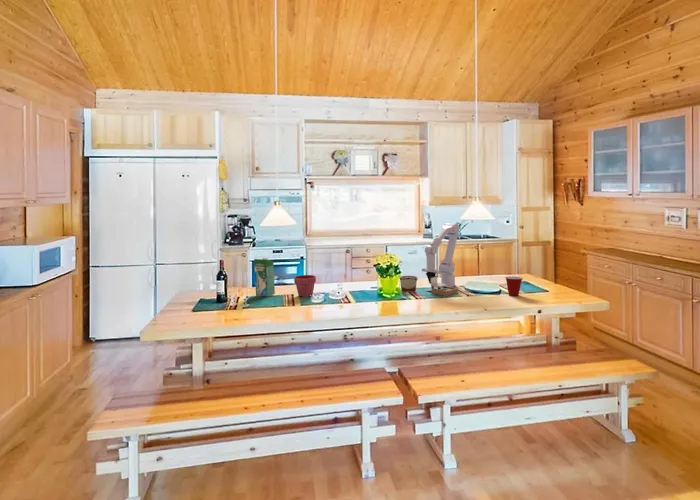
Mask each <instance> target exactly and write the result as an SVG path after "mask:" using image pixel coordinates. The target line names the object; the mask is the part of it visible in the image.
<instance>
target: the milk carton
mask: <svg viewBox="0 0 700 500" xmlns="http://www.w3.org/2000/svg"><path fill="white" fill-rule="evenodd" d="M253 262H254V263H253V264H254V279H255V284H254V285H255V297H262V296H268V297H271V296H273V295H272V294H274V295H275V294H276V291H275V289H276V288H275V269H274V266H275V265H274V260H270V259H269V258H267V257H262V258H254V261H253ZM270 295H271V296H270Z"/></svg>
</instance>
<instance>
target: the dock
mask: <svg viewBox="0 0 700 500" xmlns="http://www.w3.org/2000/svg"><path fill="white" fill-rule="evenodd" d="M458 291H459V288H458V287H455V286H453V287H449V286H447V288H444V287H443V288H441V289H438V288H437V287H434V288H429V289H424V290H423V292H431V294H433V295H434V294H435V295H440V296H444V297H448V296H451V295H455V294H458V293H459V292H458Z"/></svg>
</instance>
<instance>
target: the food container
mask: <svg viewBox="0 0 700 500" xmlns="http://www.w3.org/2000/svg"><path fill="white" fill-rule="evenodd" d="M399 279H400V280H399V281H400V289H401V293H416V292H417V291H416V290H417V282H418V280H419V279H418V276H415V275H402V276H400V277H399Z"/></svg>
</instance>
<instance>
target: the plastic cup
mask: <svg viewBox="0 0 700 500" xmlns="http://www.w3.org/2000/svg"><path fill="white" fill-rule="evenodd" d="M504 278H505V281H506V287H507V294H508V296H509V297H519V294H520V291H521V286H522V281H523V278H524V277H522V276H513V275H512V276H504Z"/></svg>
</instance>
